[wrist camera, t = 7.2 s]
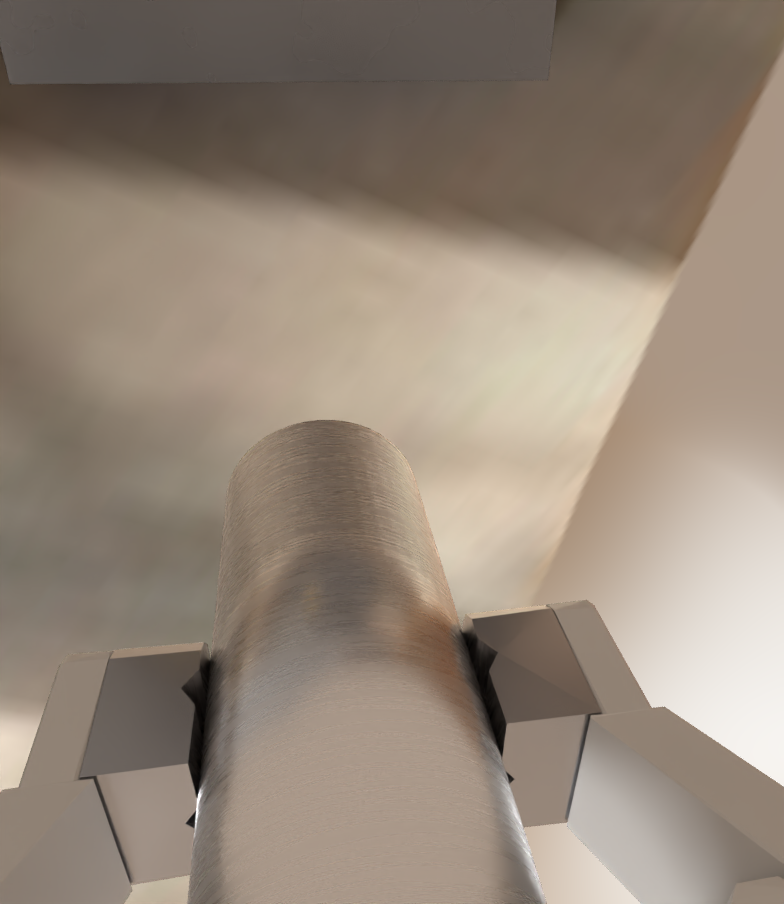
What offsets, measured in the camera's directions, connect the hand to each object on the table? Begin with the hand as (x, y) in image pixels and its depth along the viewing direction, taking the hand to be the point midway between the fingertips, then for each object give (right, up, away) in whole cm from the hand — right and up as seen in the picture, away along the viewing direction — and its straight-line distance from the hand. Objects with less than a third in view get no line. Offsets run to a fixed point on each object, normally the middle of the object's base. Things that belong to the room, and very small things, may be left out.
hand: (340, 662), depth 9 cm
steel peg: (0, +2, +3) cm, 3 cm away
